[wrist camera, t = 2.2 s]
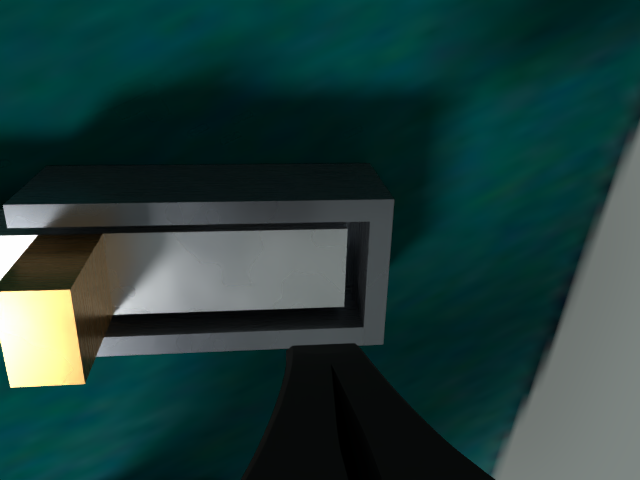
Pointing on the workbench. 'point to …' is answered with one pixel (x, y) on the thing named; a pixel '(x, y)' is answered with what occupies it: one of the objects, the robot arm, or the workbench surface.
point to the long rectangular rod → (149, 282)
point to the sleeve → (229, 208)
